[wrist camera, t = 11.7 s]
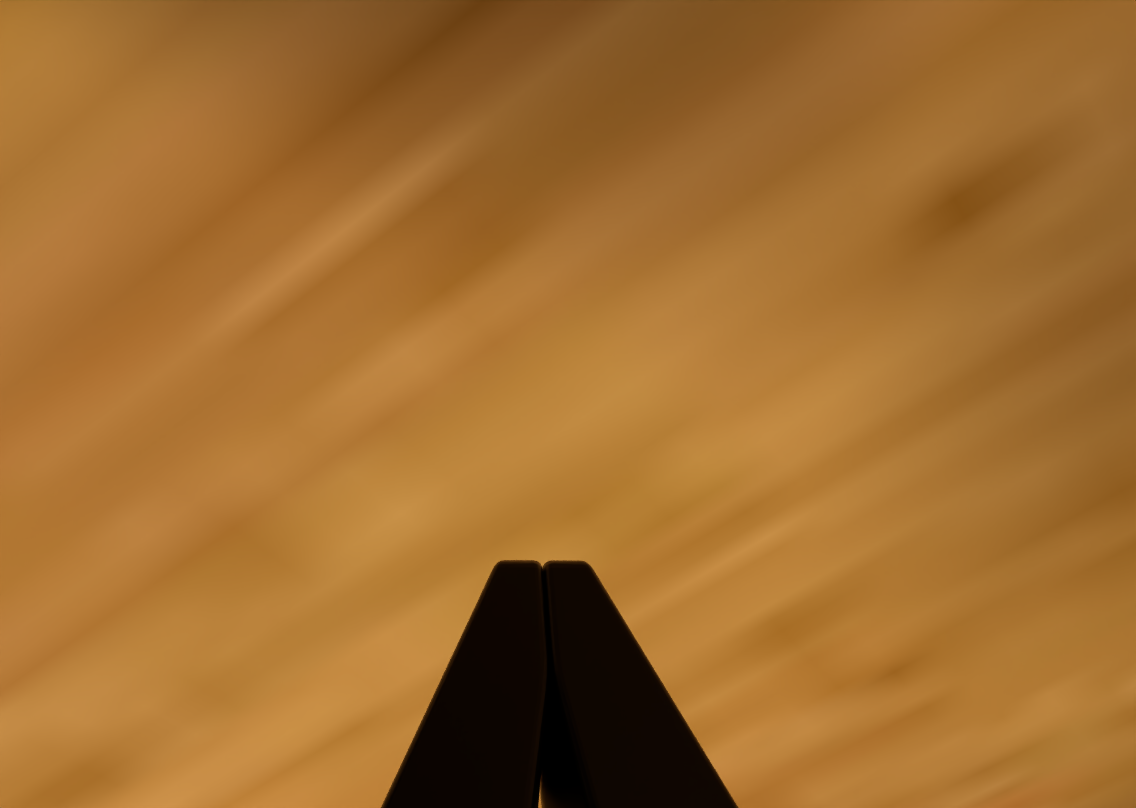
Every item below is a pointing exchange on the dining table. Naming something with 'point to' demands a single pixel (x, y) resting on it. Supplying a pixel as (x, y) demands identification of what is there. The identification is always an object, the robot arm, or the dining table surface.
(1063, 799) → the dining table surface
